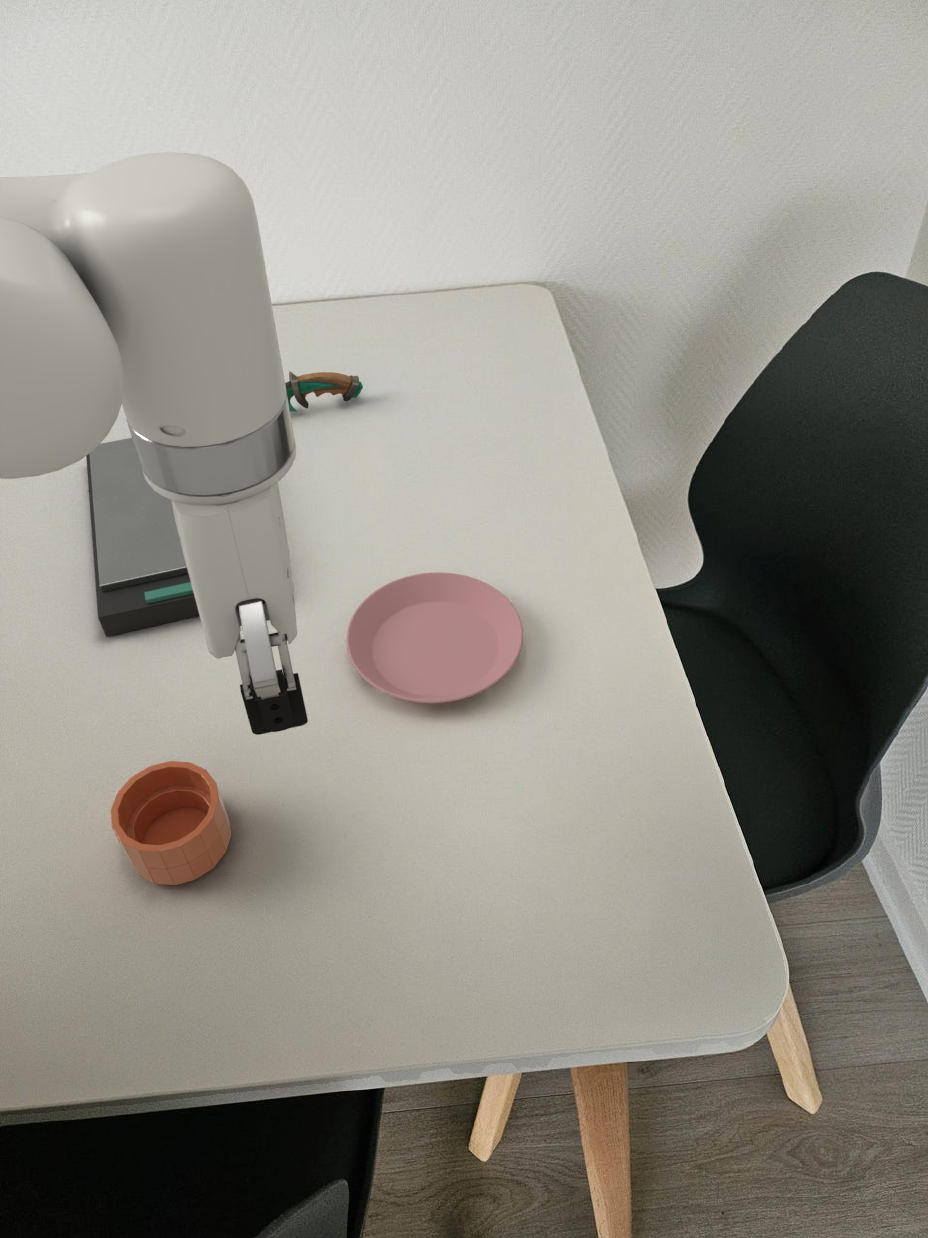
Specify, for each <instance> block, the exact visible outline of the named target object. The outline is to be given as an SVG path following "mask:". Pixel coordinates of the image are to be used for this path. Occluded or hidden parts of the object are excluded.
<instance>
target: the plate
mask: <svg viewBox="0 0 928 1238" xmlns="http://www.w3.org/2000/svg"><path fill="white" fill-rule="evenodd" d="M523 640H524V630H523V624H522V620H521V617H520V614H519V612H518V611H517V609H516V608H515V606H514V605H513V604H512V602H511V601H510V599H508V597H506V596H505V595H504V593H502V592H501V591H500V590H498V589H496V588H495V587H494V586H492V585H490V584H488V583H487V582H484V581H482V580H480V579H477V578H475V577H473V576H472V577H471V576H468V575H465V574H460V573H454V572H443V571H442V572H440V571H439V572H438V571H437V572H422V573H416V574H412V575H407V576H404V577H401V578H398V579H396V580H393V581H390V582H389V583H387V584H385V585H383V586H380V587H379V588H378V589H376V590H375V591H374V592H372V593H371V594H370V595H369V596H367V597H366V598H365V599H364V600H363V601H362V602H361V603H360V604H359V605H358V607H357V608H356V610H355V611H354V613H353V615H352V616H351V618H350V621H349V623H348V627H347V631H346V649H347V650H346V651H347V654H348V657H349V660H350V662H351V664H352V666H353V667H354V669H355V671H356V672H357V673H358V675H360V677H362V679H363V680H364V681H366V682H367V683H368V684H369V685H370V686H372V687H374V689H376V690H377V691H380V692H382V693H383V694H385V695H388V696H391V697H393V698H396V699H399V700H402V701H407V702H412V703H419V704H444V703H451V702H457V701H461V700H466V699H468V698H471V697H473V696H475V695H478V694H480V693H483V692H485V691H486V690H488V689H490V688H491V687H493V686H494V685H495V684H498V682H500V681H501V680H502V679H503V678H504V677H506V675H507V674H508V673H509V672H510V671H511V669H512V668H513V666H514V665H515V663H516V662H517V660H518V658H519V656H520V654H521V650H522V647H523V642H524V641H523Z"/></svg>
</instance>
